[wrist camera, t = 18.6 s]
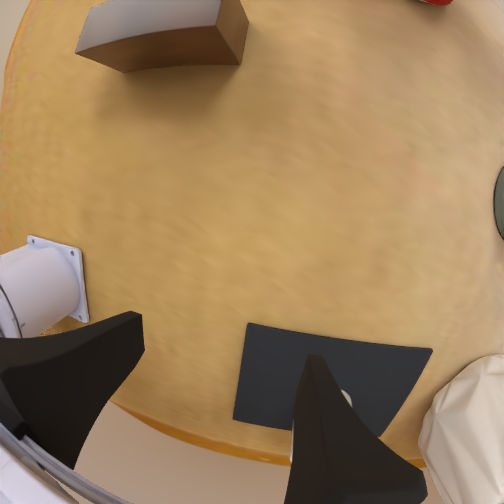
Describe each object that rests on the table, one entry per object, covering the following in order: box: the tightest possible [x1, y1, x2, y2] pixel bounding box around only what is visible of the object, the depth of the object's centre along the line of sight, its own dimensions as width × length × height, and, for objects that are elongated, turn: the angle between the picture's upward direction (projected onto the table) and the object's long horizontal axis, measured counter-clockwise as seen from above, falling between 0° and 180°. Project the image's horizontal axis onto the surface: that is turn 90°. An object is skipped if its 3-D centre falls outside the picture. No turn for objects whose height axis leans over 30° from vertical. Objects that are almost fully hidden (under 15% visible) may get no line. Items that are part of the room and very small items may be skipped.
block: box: [75, 0, 249, 72], centre depth 13 cm, size 10×4×6 cm, turn 82°
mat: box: [233, 323, 433, 437], centre depth 21 cm, size 16×12×1 cm
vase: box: [418, 354, 504, 504], centre depth 12 cm, size 14×14×15 cm
